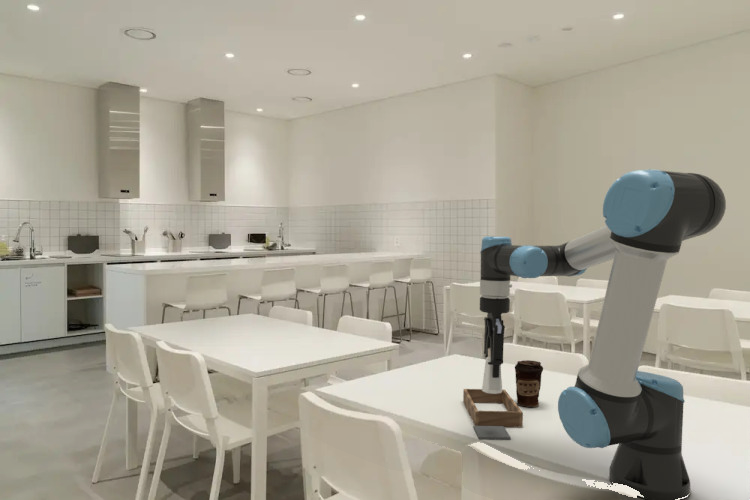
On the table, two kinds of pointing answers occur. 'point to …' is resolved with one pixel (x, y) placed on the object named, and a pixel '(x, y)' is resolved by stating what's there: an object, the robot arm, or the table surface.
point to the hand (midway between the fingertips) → (492, 386)
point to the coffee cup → (528, 382)
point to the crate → (492, 417)
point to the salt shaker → (486, 377)
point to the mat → (492, 432)
